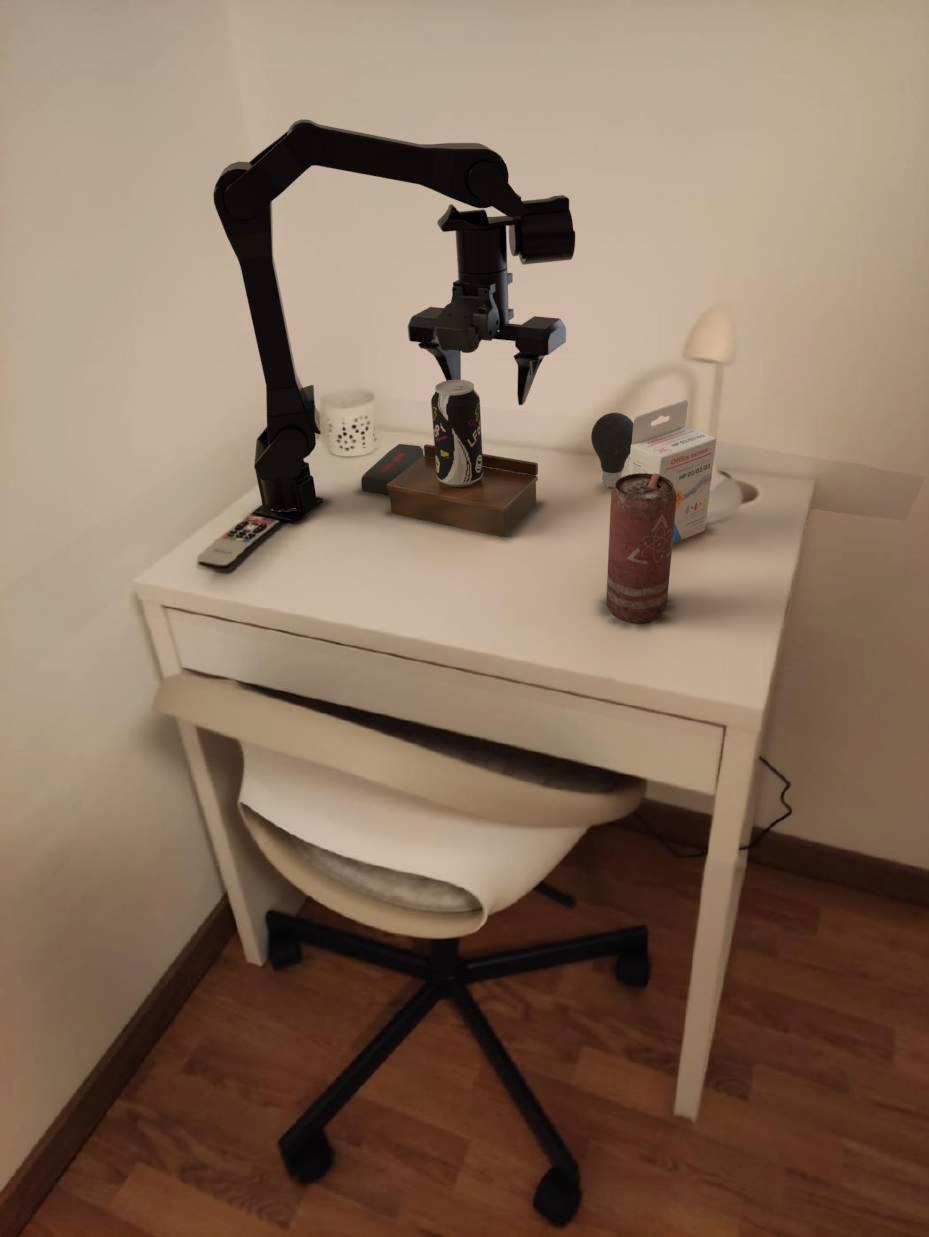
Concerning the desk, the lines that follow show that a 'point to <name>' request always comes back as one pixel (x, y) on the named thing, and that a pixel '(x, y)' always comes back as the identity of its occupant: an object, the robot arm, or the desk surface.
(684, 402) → the ink box
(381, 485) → the usb drive
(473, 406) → the beverage can
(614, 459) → the light bulb
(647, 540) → the can
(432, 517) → the step shelf
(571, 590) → the desk surface
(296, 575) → the desk surface
